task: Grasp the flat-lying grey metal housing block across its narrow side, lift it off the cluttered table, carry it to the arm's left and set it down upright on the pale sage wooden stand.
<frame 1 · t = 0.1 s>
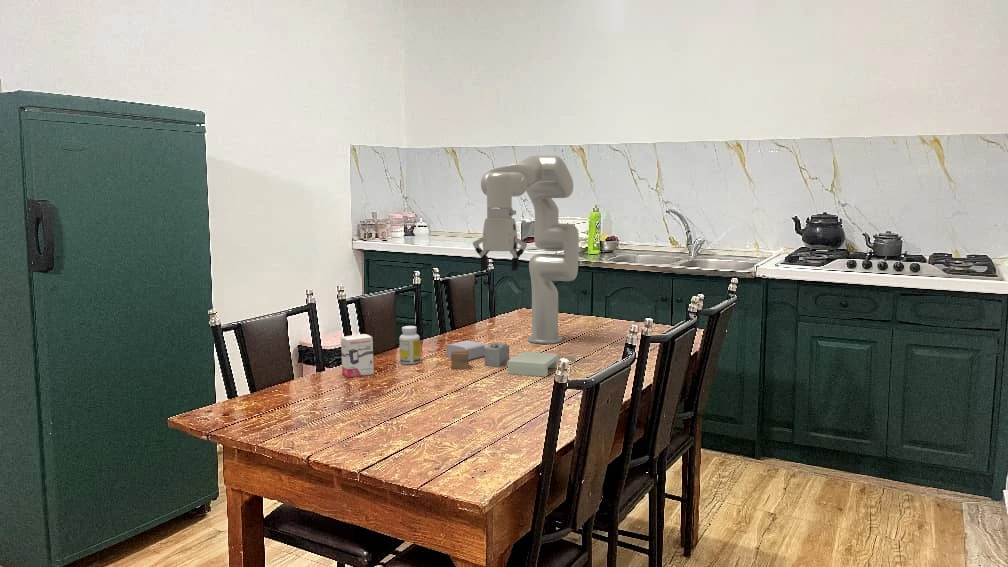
hand: (499, 270, 246), 31 cm above the table, fingers open, 9 cm apart
pill bottle: (410, 363, 260), on the table
white product box: (358, 375, 245), on the table
walnut block: (460, 367, 253), on the table
charger: (472, 356, 269), on the table
stand: (533, 370, 248), on the table
housing: (497, 363, 258), on the table
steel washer: (566, 361, 261), on the table
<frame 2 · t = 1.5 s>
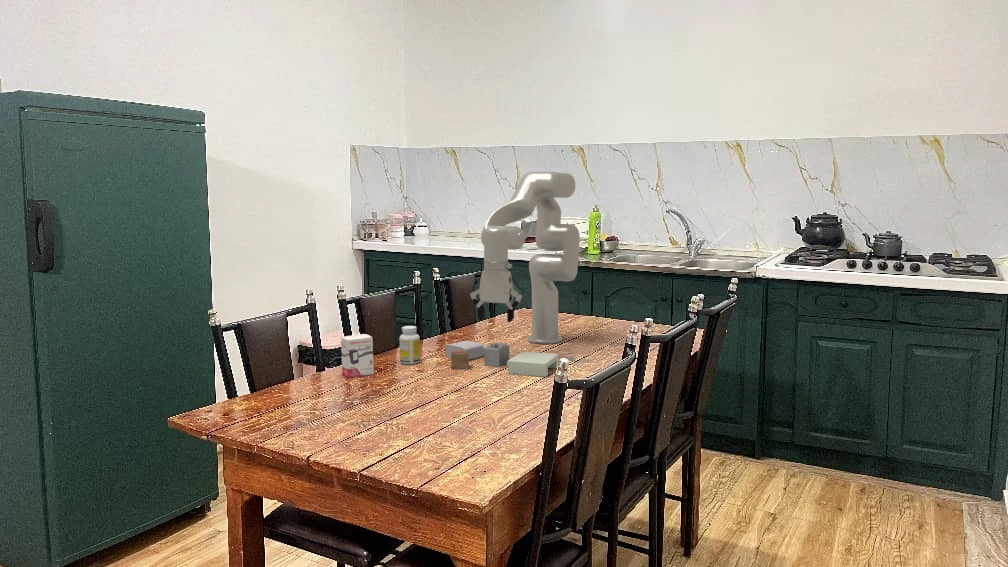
hand: (495, 320, 255), 14 cm above the table, fingers open, 9 cm apart
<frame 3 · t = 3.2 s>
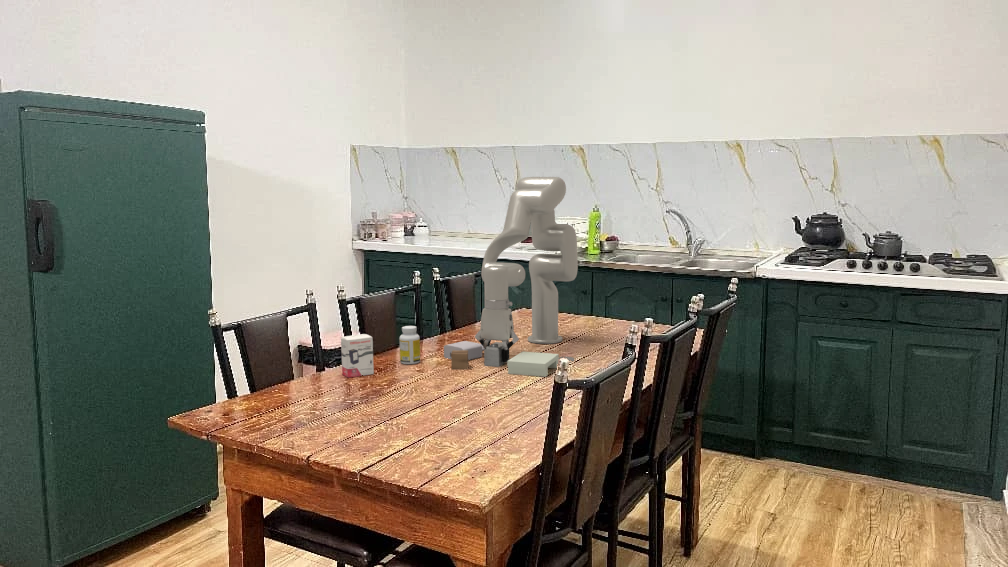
hand: (496, 360, 257), 1 cm above the table, fingers closed on housing, 5 cm apart
housing: (497, 363, 258), on the table, touching gripper
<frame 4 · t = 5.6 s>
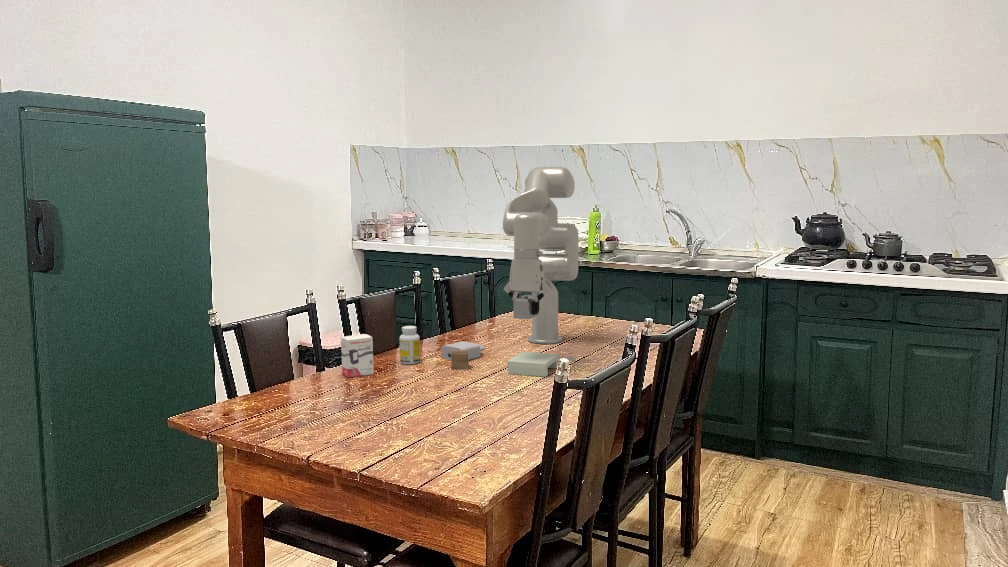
hand: (526, 313, 247), 18 cm above the table, fingers closed on housing, 5 cm apart
housing: (526, 316, 247), point 17 cm above the table, touching gripper
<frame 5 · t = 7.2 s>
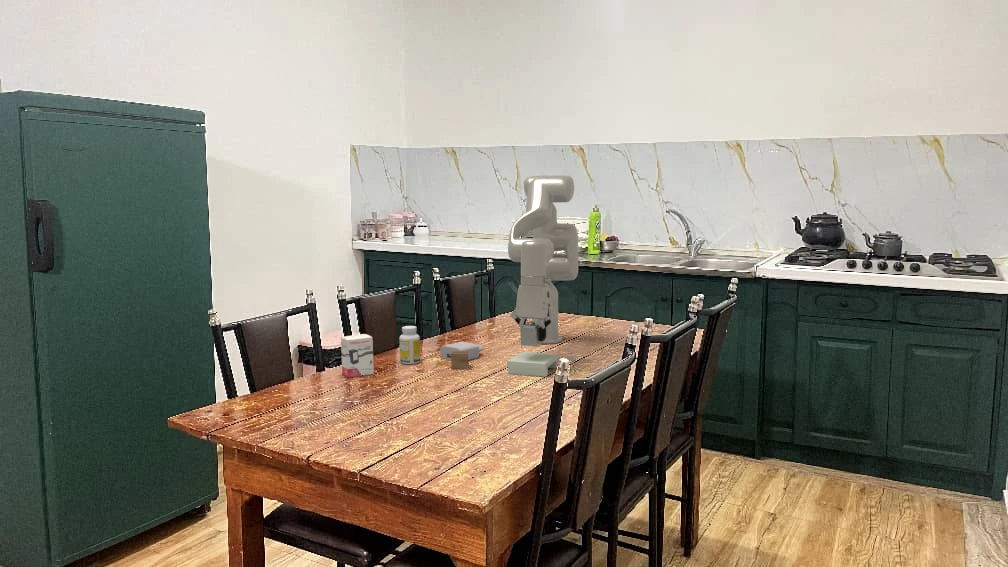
hand: (533, 339, 247), 10 cm above the table, fingers closed on housing, 5 cm apart
housing: (533, 342, 247), point 9 cm above the table, touching gripper
when the fingers open (6 cm above the table, at t = 8.3 s): housing drops 1 cm, resting on stand.
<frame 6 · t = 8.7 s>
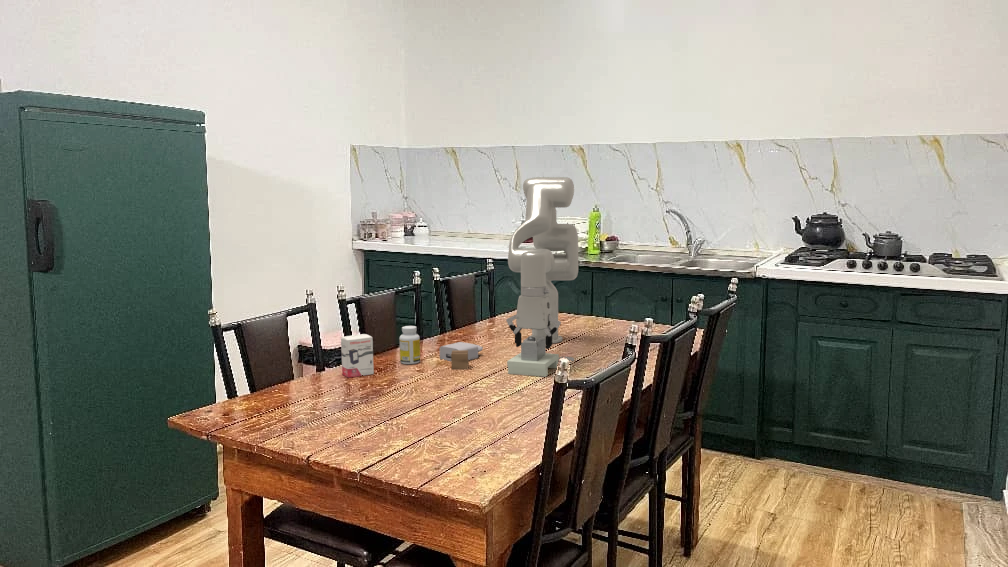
hand: (533, 347, 247), 7 cm above the table, fingers open, 9 cm apart
housing: (533, 357, 248), point 4 cm above the table, touching stand
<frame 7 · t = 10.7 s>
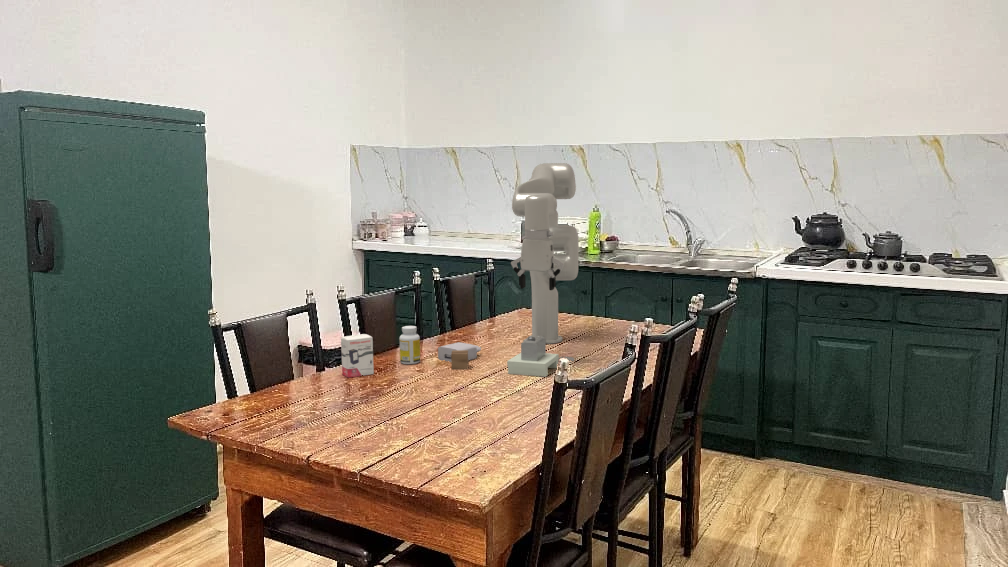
hand: (537, 288, 254), 24 cm above the table, fingers open, 9 cm apart
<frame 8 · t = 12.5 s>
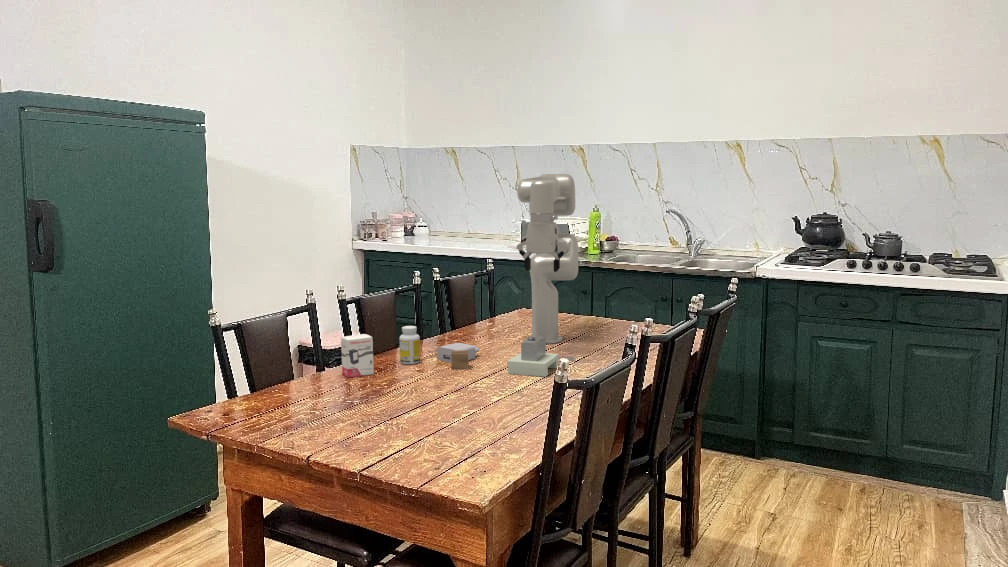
hand: (541, 270, 265), 28 cm above the table, fingers open, 9 cm apart
at the end: housing inside the target area on the stand (0.2 cm from its centre), point 4.0 cm above the stand's base; housing tilted 0°; the gripper is holding nothing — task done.
